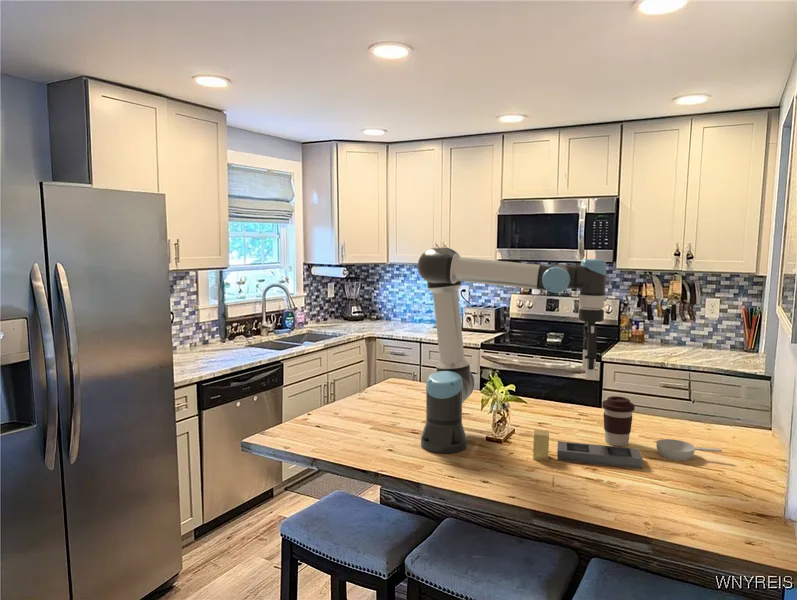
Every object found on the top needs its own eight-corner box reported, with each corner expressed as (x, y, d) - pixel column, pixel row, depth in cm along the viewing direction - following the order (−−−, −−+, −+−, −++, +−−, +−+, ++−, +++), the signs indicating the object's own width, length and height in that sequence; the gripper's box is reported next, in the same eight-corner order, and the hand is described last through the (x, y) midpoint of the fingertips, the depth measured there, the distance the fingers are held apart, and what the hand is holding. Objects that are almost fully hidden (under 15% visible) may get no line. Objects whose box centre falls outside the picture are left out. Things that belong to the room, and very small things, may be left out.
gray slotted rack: (557, 460, 169) (557, 450, 168) (557, 450, 177) (557, 441, 176) (642, 469, 162) (642, 459, 162) (638, 458, 170) (638, 448, 170)
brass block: (533, 459, 169) (533, 434, 168) (533, 454, 173) (534, 429, 173) (548, 461, 168) (549, 435, 167) (548, 455, 172) (549, 430, 171)
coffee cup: (635, 449, 177) (637, 404, 176) (603, 447, 179) (605, 402, 178) (629, 438, 187) (631, 395, 185) (598, 436, 189) (600, 393, 187)
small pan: (654, 447, 179) (655, 436, 179) (717, 455, 173) (718, 443, 172) (657, 459, 169) (657, 447, 169) (723, 468, 163) (724, 456, 162)
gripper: (608, 313, 160) (604, 384, 163) (600, 304, 184) (596, 366, 187) (581, 312, 162) (578, 383, 165) (576, 303, 186) (573, 364, 189)
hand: (588, 374), depth 176 cm, fingers open, 13 cm apart
